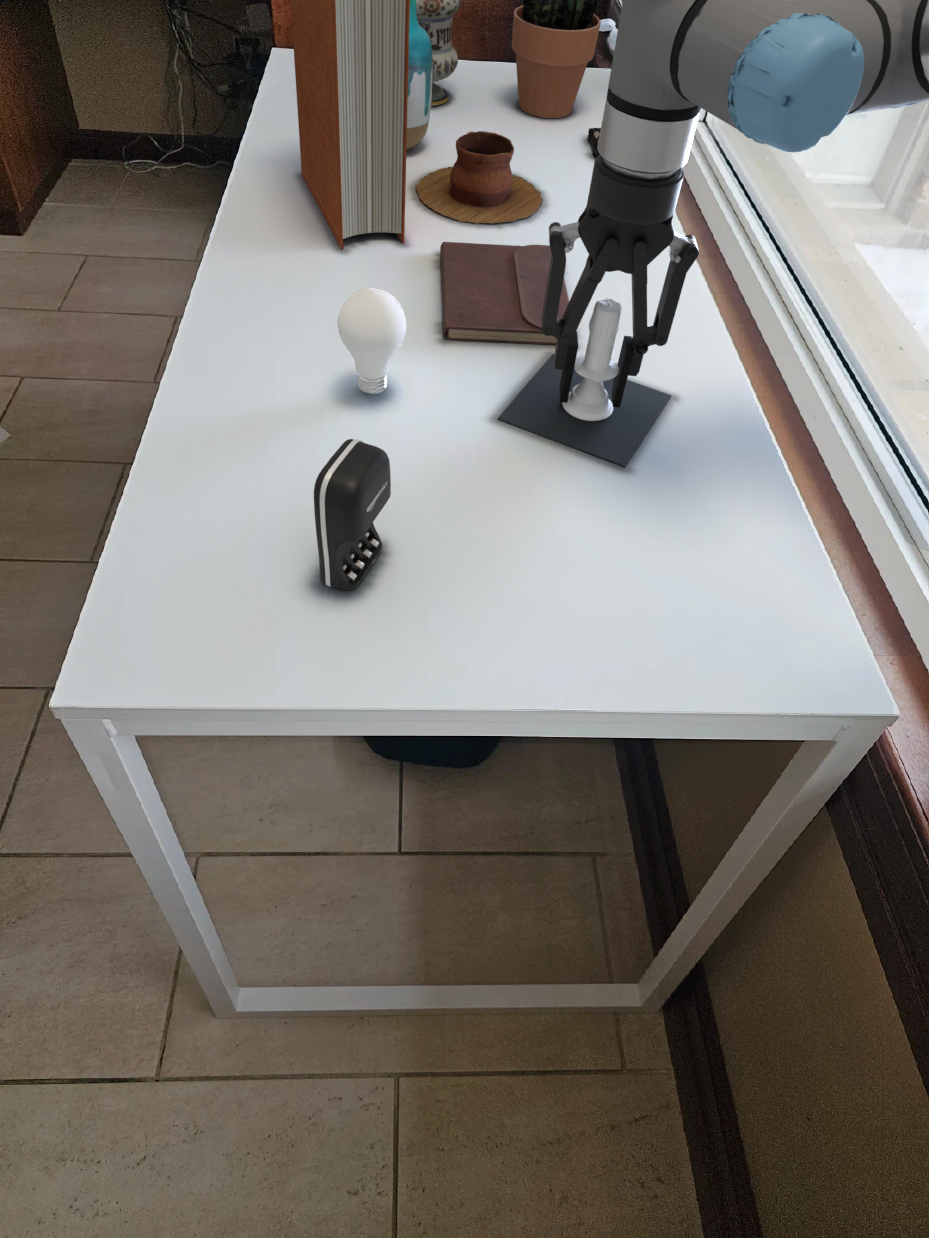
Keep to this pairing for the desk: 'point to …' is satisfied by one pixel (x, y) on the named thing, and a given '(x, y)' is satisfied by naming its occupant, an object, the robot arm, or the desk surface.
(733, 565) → the desk surface
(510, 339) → the notebook
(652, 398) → the mat
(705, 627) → the desk surface
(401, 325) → the light bulb
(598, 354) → the candle
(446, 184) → the ceramic pot
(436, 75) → the apothecary jar
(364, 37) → the book
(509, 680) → the desk surface
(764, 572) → the desk surface
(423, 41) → the vase
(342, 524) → the battery charger
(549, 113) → the potted plant
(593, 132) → the toy car
